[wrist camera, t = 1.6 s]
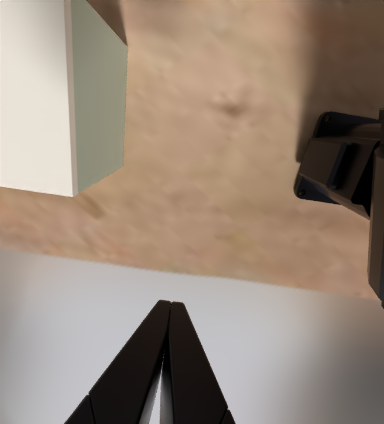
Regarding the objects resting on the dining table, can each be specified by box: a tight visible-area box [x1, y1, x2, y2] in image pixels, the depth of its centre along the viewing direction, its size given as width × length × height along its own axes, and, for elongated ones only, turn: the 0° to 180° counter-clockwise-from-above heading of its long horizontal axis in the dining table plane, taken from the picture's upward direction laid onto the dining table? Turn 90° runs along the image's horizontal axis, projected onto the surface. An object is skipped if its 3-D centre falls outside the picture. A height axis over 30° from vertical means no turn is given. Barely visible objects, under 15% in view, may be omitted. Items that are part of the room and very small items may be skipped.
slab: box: [0, 0, 128, 197], centre depth 13 cm, size 4×8×8 cm, turn 171°
